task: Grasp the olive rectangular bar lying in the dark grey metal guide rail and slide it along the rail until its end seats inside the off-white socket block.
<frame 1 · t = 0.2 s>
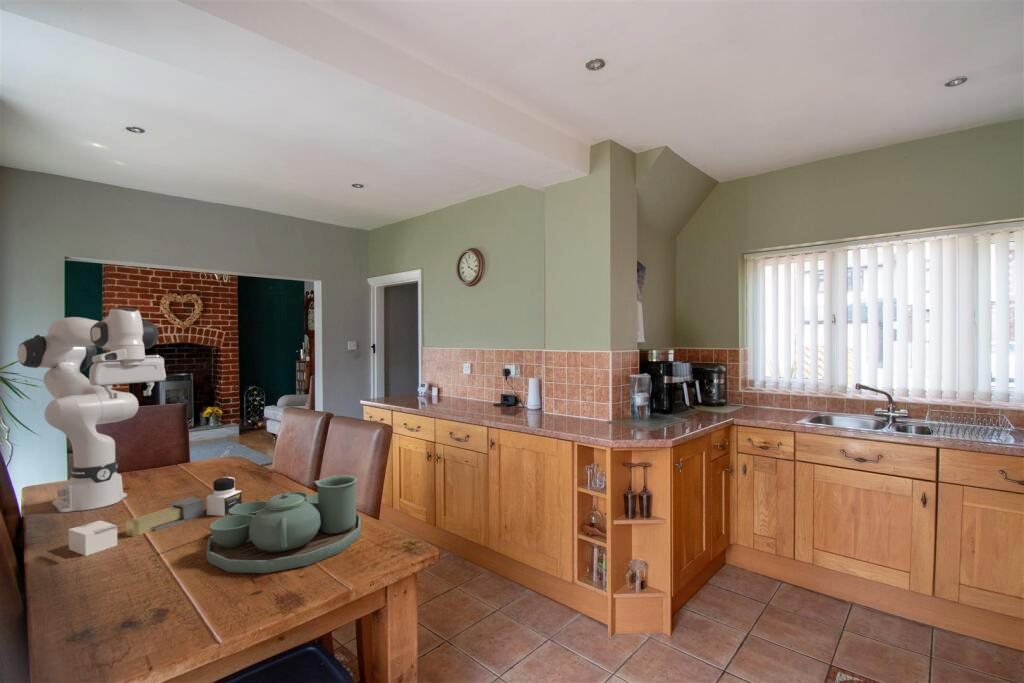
hand: (130, 397, 156), 39 cm above the table, tool pointing down, fingers open, 8 cm apart
medicine bottle: (224, 515, 155), on the table
sleeve: (174, 524, 147), on the table
olive rectangular bar: (160, 518, 144), point 3 cm above the table, slide at 0.0 cm
tea set: (287, 542, 135), on the table
socket: (93, 551, 129), on the table
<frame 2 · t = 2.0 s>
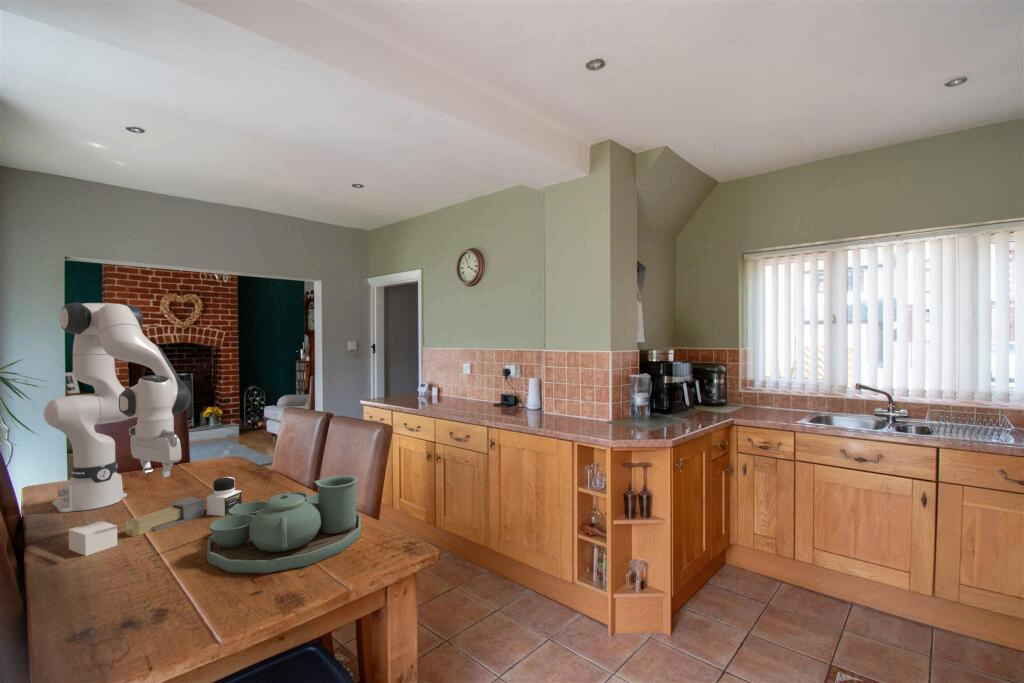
hand: (156, 475, 143), 17 cm above the table, tool pointing down, fingers open, 8 cm apart
nothing on the table moved.
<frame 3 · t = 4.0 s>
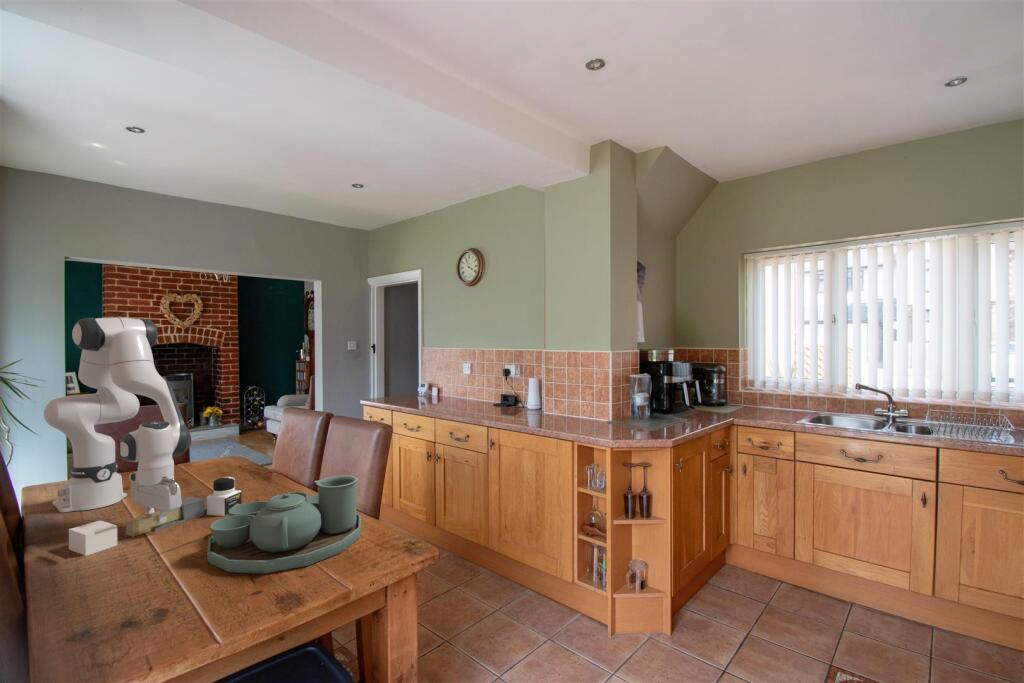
hand: (156, 520, 143), 3 cm above the table, tool pointing down, fingers closed on olive rectangular bar, 4 cm apart
olive rectangular bar: (160, 518, 144), point 3 cm above the table, slide at 0.0 cm, touching gripper
everything else where it was.
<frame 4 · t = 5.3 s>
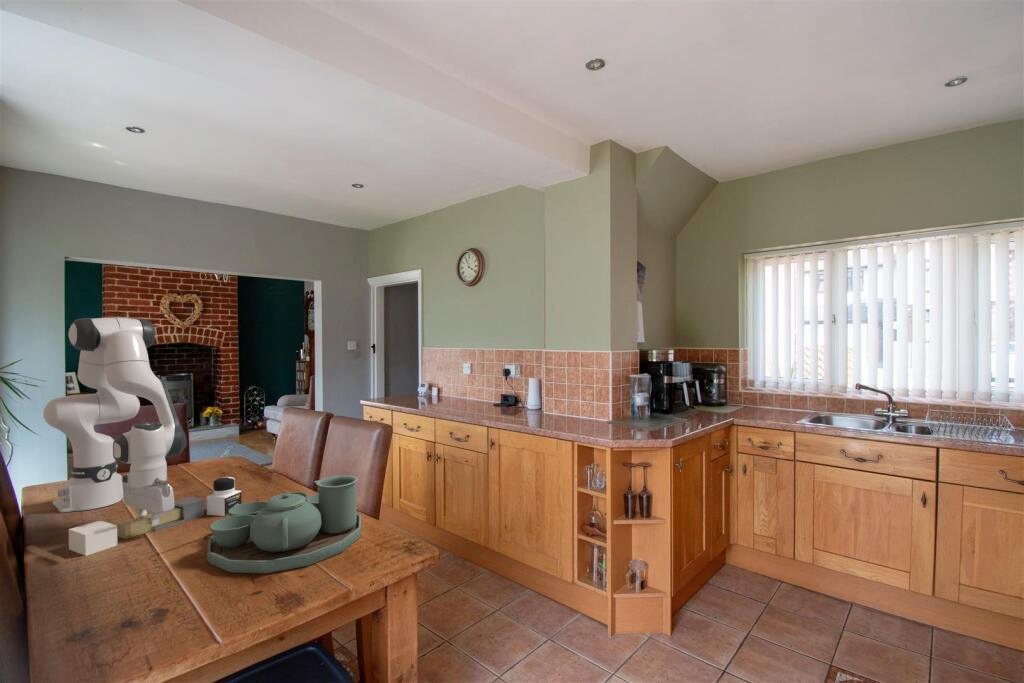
hand: (149, 523, 141), 3 cm above the table, tool pointing down, fingers closed on olive rectangular bar, 4 cm apart
olive rectangular bar: (152, 521, 142), point 3 cm above the table, slide at 2.0 cm, touching gripper
everything else where it was.
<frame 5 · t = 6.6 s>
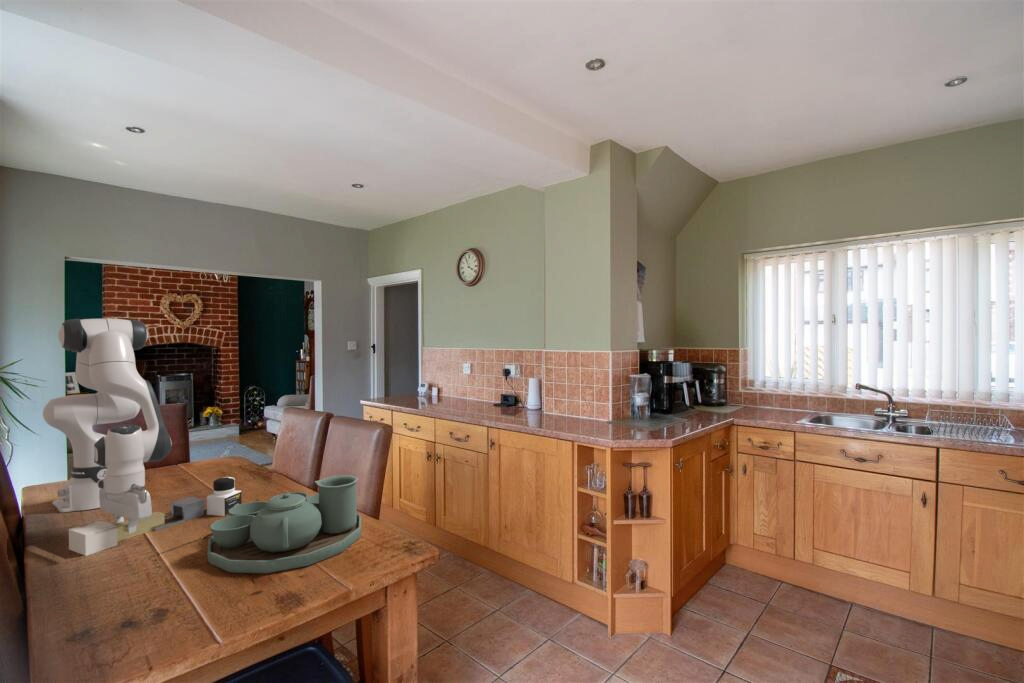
hand: (125, 530, 136), 3 cm above the table, tool pointing down, fingers closed on olive rectangular bar, 4 cm apart
olive rectangular bar: (130, 528, 137), point 3 cm above the table, slide at 7.9 cm, touching gripper
everything else where it was.
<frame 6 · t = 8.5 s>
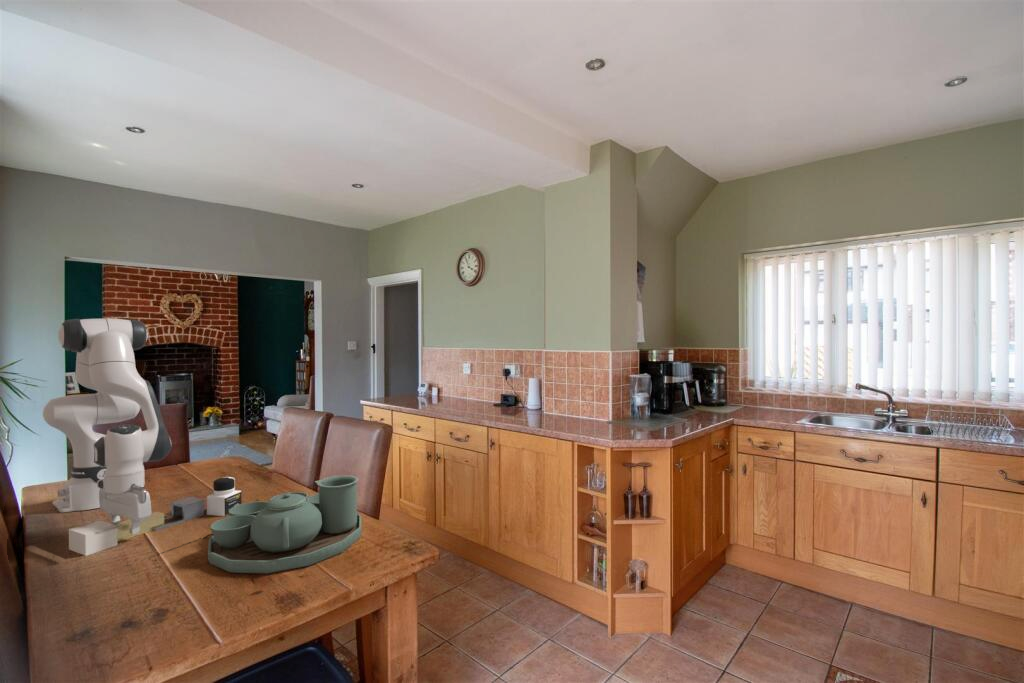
hand: (125, 530, 136), 3 cm above the table, tool pointing down, fingers open, 8 cm apart
olive rectangular bar: (129, 528, 136), point 3 cm above the table, slide at 8.0 cm
everything else where it was.
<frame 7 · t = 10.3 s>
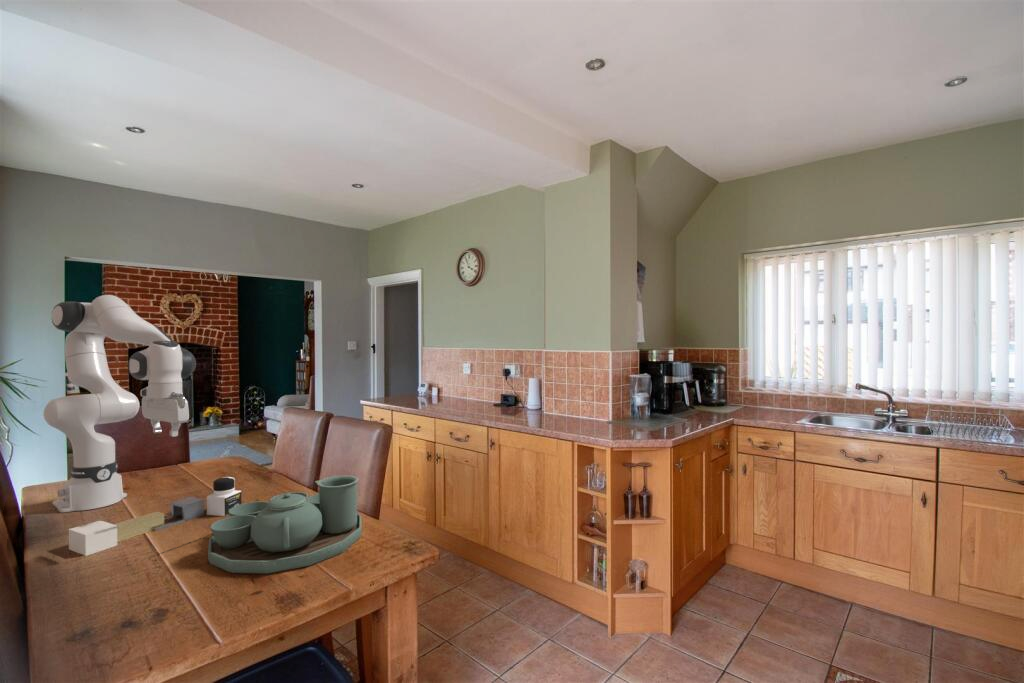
hand: (165, 434, 151), 27 cm above the table, tool pointing down, fingers open, 8 cm apart
nothing on the table moved.
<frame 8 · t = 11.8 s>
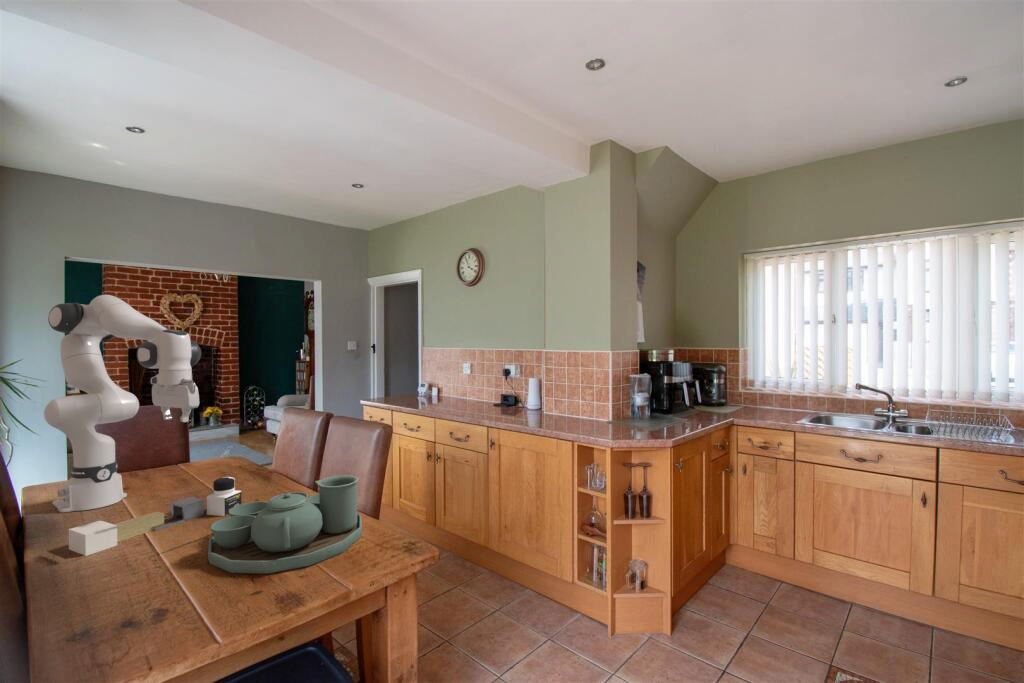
hand: (175, 420, 155), 31 cm above the table, tool pointing down, fingers open, 8 cm apart
nothing on the table moved.
at the end: olive rectangular bar slide at 8.0 cm; the gripper is holding nothing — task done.
